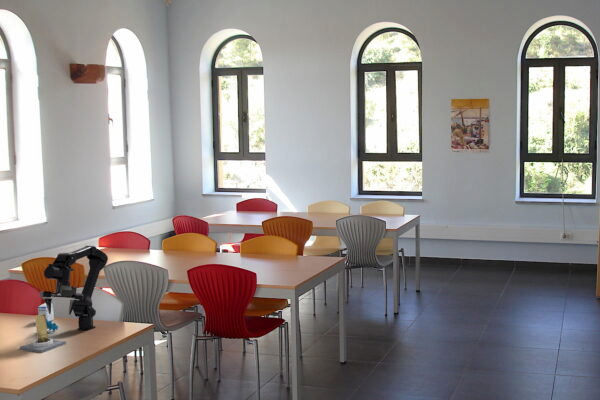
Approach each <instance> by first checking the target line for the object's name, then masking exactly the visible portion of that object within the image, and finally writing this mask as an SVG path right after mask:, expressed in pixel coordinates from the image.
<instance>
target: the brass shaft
mask: <svg viewBox="0 0 600 400" xmlns="http://www.w3.org/2000/svg"><path fill="white" fill-rule="evenodd" d="M34 318H35V328H36V337H37V339H36V340H38V343H44V342H48V338H49V337H48V336H49V335H48V329H47V325H46V315H45V314H40V315H38V314H36V315H35V316H34Z"/></svg>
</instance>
